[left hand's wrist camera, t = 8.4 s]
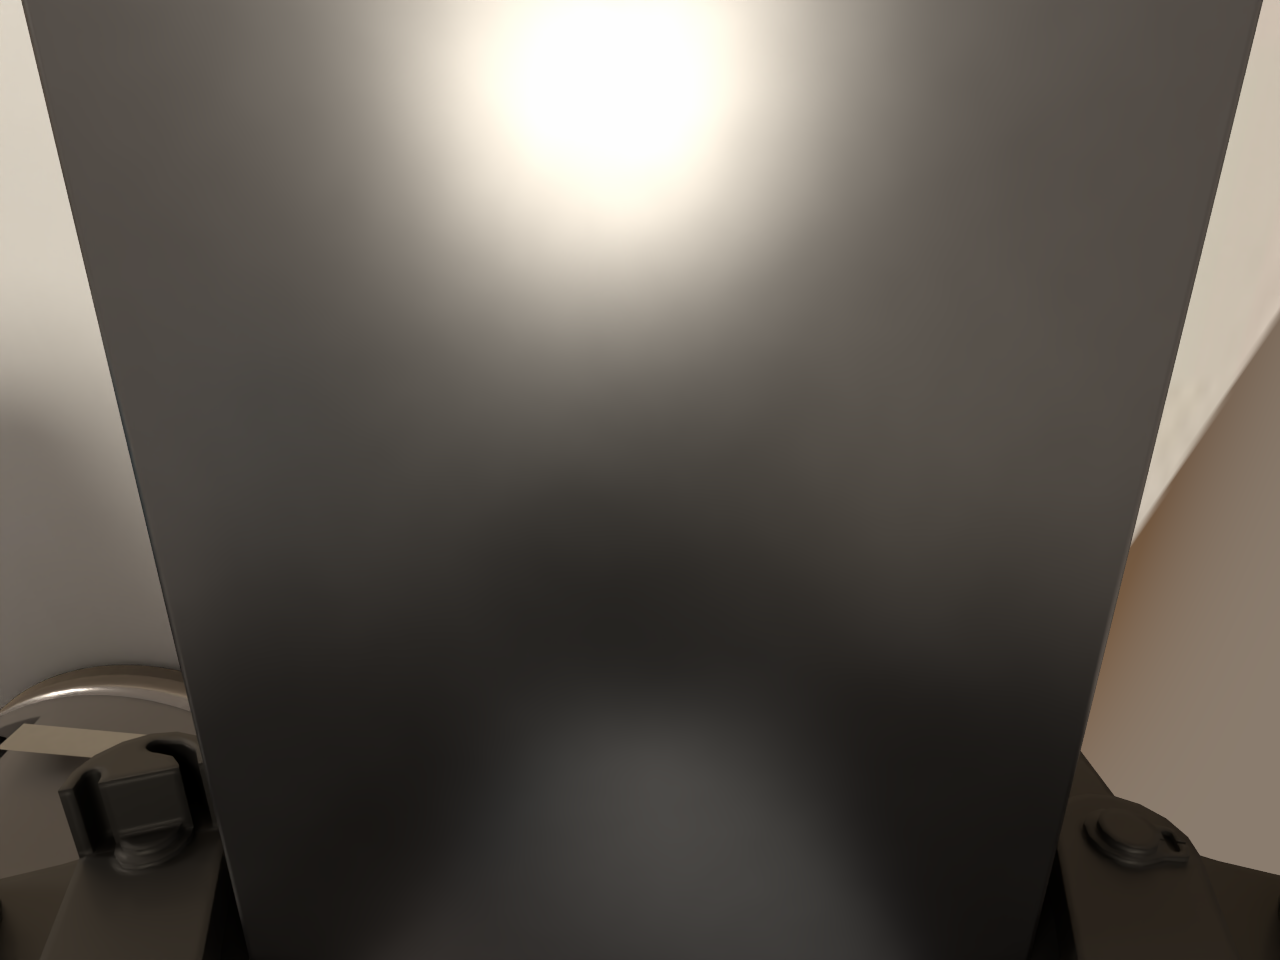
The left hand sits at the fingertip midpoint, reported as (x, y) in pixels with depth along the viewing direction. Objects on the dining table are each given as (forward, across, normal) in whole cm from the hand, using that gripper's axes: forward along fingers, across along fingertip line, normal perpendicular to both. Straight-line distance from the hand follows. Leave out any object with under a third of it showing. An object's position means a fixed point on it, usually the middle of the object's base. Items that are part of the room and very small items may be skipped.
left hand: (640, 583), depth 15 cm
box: (+1, 0, -10) cm, 10 cm away
